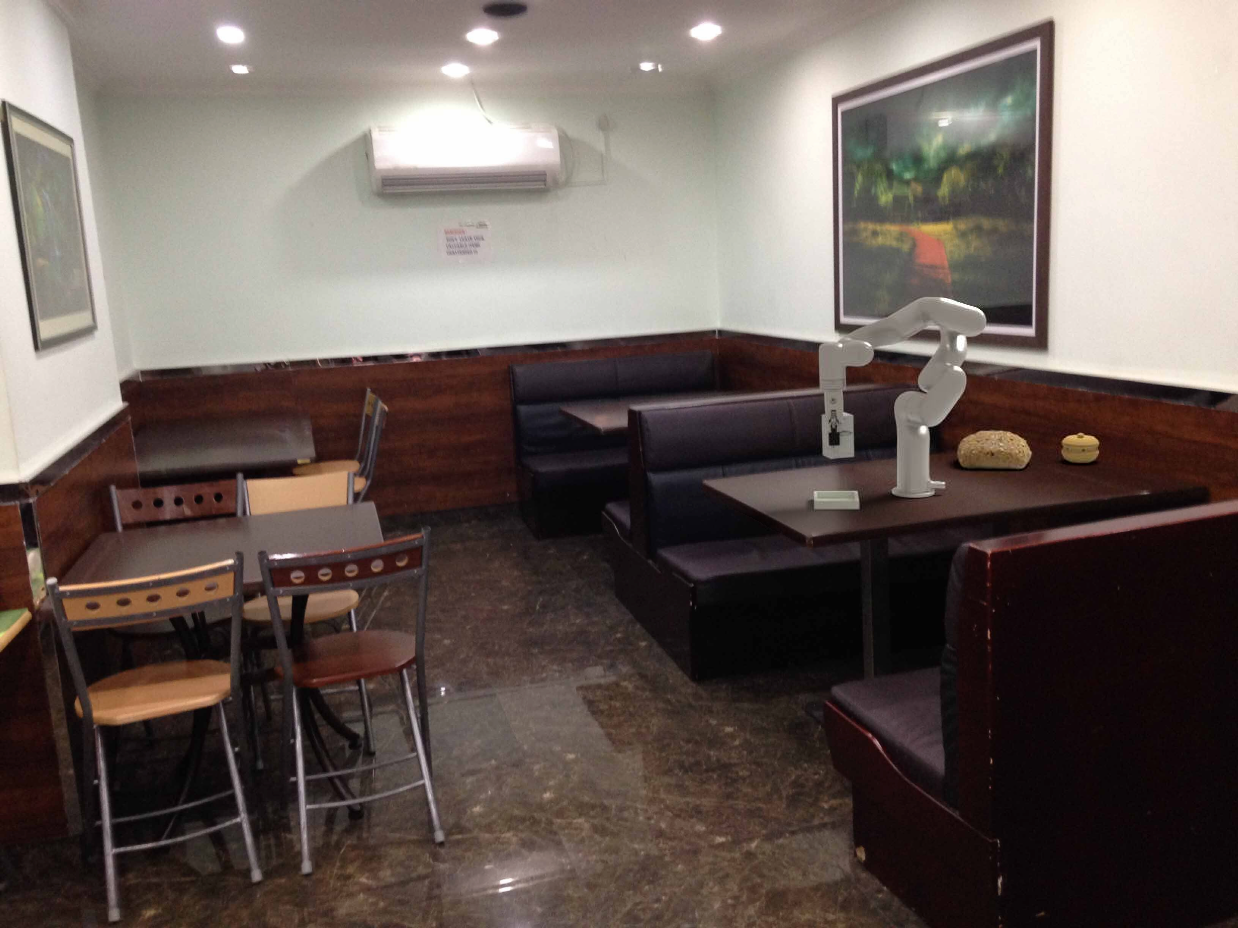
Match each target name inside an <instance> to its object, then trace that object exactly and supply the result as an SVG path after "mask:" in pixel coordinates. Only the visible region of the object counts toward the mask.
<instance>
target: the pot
mask: <svg viewBox="0 0 1238 928" xmlns="http://www.w3.org/2000/svg"><path fill="white" fill-rule="evenodd" d="M1099 441H1100V440H1098V439H1097V438H1096V437H1095V436H1092V435H1088V434H1087V435H1086V434H1084V433H1082V432H1079V433H1077V434H1073V435H1068V436H1066V437H1065V438H1063V440H1062V441H1061V444H1062V446H1063V448H1062V449H1061V451H1060V452H1061V455H1062V457H1063V458H1064V459H1065V460H1066V461H1068V462H1070V463H1074V464H1087V463H1091V462H1093V461H1095V460H1096V459H1097V457H1098V456H1099V454H1100V451H1099V449H1098V447H1099V446H1100V442H1099Z"/></svg>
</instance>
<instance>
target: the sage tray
mask: <svg viewBox="0 0 1238 928" xmlns="http://www.w3.org/2000/svg"><path fill="white" fill-rule="evenodd" d="M813 510H860V499H859V493H858V490H824V491H823V490H817V491H816V490H815V491H814V490H813Z"/></svg>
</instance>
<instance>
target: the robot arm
mask: <svg viewBox="0 0 1238 928" xmlns="http://www.w3.org/2000/svg"><path fill="white" fill-rule="evenodd" d="M986 325H987V318H986V315H985V313H984V312H983V311H982V310H980V309H979V308H977V307H974V306H970V305H967V304H964V303H962V302H957V301H955V300H953V299H949V298H946V297H941V296H940V297H937V296H923V297H921V298H920V297H919V298H918V299H916V300H914V301H913V302H911V303H909V304H907V305H906V306H904V307H901V309H899V310H897V311H896V312H893V313H892V314H890V315H888V316H887V317H884V318H882V319H879V320H877V321H875V322H872V323H869V324H867V325H864V326H862V327H860V328H857V329H855V330H854V331H852V332H850V333H848V334H847V335H845V336H843V337H842V338H840V339H839V340H838V341H836V342H825V343H821V344H820V345H819V348H818V365H819V366H818V367H819V371H818V373H819V391H820V392H823V393H824V394H823V395H824V411H825V412H824V414H826V421H827V424H829V432H828V434H829V446H839V445H840V432H839V423H841V424H843V413H844V394H843V391H846V390H847V380H846V378H847V377H846V375H847V374H846V367H863V366H865V365H868V364H869V363H870V362H872V360H873V358H874V356H875V355H874V354H875V353H874V352H875V351H874V349H876V348H880V347H885V346H886V347H887V346H891V345H893V346H894V345H896V344H899V343H902V342H904V341H906V340H907V339H909V338H910V337H913V336H914V335H916V334H917V333H919V332H922V331H923V330H924V329H925V328H927V327H928V328H929V327H930V326H931V327H938V328H939V332H940V343H939V345H938V348H937V349H936V351H935V353H934V354H933V355H932V356H931V358H930V359H929V361H928V362H927V363H926V364H925V366H924V367H923V369H922V370H921V371H920V374H919V375H918V378H917V384H918V387H919V389H921V390H922V391H923V392H920V391H915V390H914V391H913V390H912V391H911V390H909V391H905V392H903V393H901V394H899V396H898V397H897V398H896V400H895V402H894V407H893V408H894V418H895V423H896V436H897V441H896V442H897V444H896V448H897V449H896V450H897V451H896V452H897V454H896V462H897V463H896V467H897V469H896V474H897V475H896V486H895V487H894V488H892V489H891V493H892V495H894V496H897V497H901V498H915V499H916V498H918V499H919V498H928V497H931V496H933V495H935V489H946V482H945V481H940V480H931V477H930V444H931V443H930V442H931V441H930V440H931V438H930V430H929V428H930V427H931V428H932V427H935V426H938V425H940V424H941V423H942V422H943V420H945V418H946V417H947V416H948V414H949V413H950V412H951V410H952V409H953V407H954V406H955V405H956V404H957V402H958V400H960V398H961V396H962V395H963V393H964V391H965V389H966V385H967V375H966V373H965V371H964V370H963V368H961V367H962V364H963V363H964V361H965V359H966V357H967V354H968V342H967V337H968V338H971V337H972V338H973V337H977V336H979V335H980V334H982V332H984V330H985V328H986ZM831 417H832V422H830V418H831ZM836 417H837V422H836ZM838 421H839V422H838Z"/></svg>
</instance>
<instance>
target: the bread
mask: <svg viewBox="0 0 1238 928" xmlns="http://www.w3.org/2000/svg"><path fill="white" fill-rule="evenodd" d="M1032 455H1033V453H1032V451H1031V450H1030V446H1029V445H1028V443H1027V440H1025V439H1024V437H1020V436H1019V435H1018V434H1014V433H1012V432H1010V431H1003V430H995V429H993V430H992V429H990V430H980V431H977V432H976V433H973V434H969V435H967V436H965V437H964V438H963V439H962V440H961V441H960V442H959V444H958V447H957V459H958V461H959V464H960V465H961V467H962V468H966V469H982V470H983V469H986V470H987V469H988V470H989V469H997V470H999V469H1000V470H1002V469H1003V470H1004V469H1008V470H1009V469H1013V470H1019V469H1022V470H1023V468H1025V467H1026V466H1027V464H1028V463H1029V461H1030V460H1031V457H1032Z"/></svg>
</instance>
